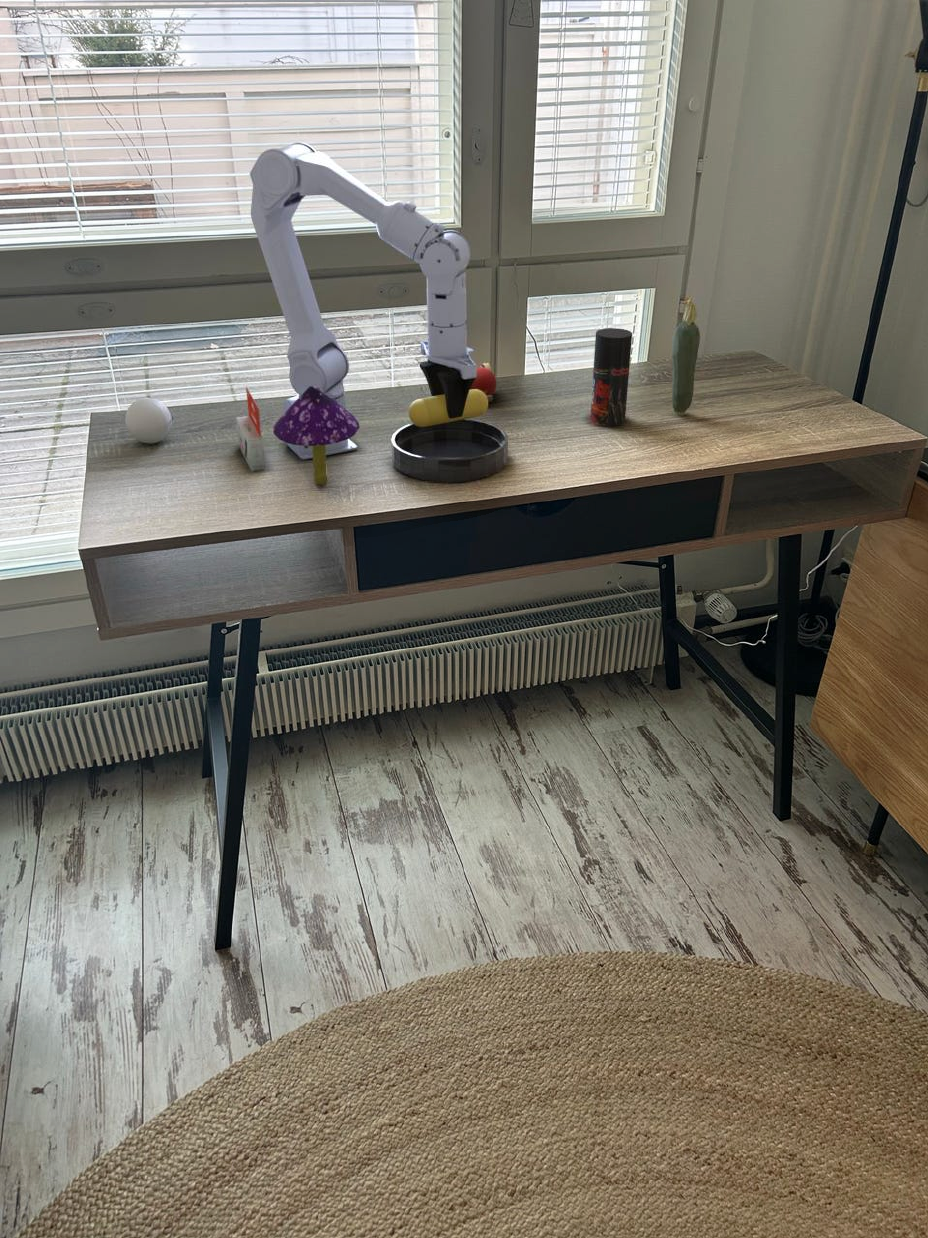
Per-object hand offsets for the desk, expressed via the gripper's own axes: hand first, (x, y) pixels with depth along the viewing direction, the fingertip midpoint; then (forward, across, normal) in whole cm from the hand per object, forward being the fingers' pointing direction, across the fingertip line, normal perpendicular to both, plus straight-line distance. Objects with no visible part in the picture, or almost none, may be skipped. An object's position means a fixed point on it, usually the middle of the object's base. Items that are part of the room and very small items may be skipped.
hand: (448, 412), depth 146 cm
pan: (+8, 0, 0) cm, 8 cm away
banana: (+1, 0, 0) cm, 1 cm away
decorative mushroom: (+8, +1, +21) cm, 23 cm away
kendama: (+8, +29, -19) cm, 35 cm away
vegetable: (+8, -1, -44) cm, 45 cm away
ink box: (+8, +16, +27) cm, 32 cm away
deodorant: (+8, +3, -32) cm, 33 cm away
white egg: (+8, +32, +39) cm, 51 cm away
